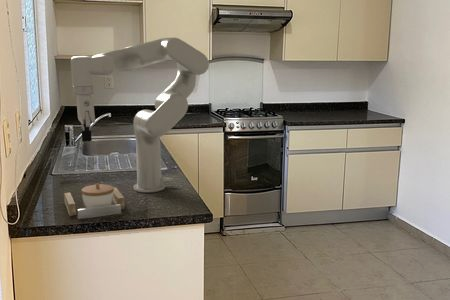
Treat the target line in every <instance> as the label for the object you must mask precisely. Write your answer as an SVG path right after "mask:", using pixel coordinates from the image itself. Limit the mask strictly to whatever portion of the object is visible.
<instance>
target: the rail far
mask: <svg viewBox="0 0 450 300" xmlns="http://www.w3.org/2000/svg"><path fill="white" fill-rule="evenodd" d="M63 195H64V205H65V208H66V210H67V212H68V215H69V216H71V217H72V216H76V215H77V212H76V210H77V209H76V203H75V201H74V198H73V196H72V194H71V192H64V193H63Z"/></svg>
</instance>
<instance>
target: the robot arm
mask: <svg viewBox="0 0 450 300" xmlns="http://www.w3.org/2000/svg"><path fill="white" fill-rule="evenodd" d="M166 61H174V62H175V63H176V67H177V68H176V69H177V73H176V77H175V79H174V80H173V81H172V82H171V83H170V85H168V86H167V87H166V88H165V89H164V90H163V91H161V93H159V94H158V95H157V96H156V99H155V101H154V108H155V110H151V109H142V110H139V111H138V112H137V113H135V116H134V117H133V132H134V136H135V150H136V151H135V156H136V158H135V161H136V183H135V184H133V188H132V189H133V190H134V191H135V192H137V193H138V192H139V193H156V192H157V193H158V192H161V191H163V190H165V189H166V183H167V184H168V183H174V178H173V177H168V176H167V177H163V176H162V158H161V156H162V155H161V139H160V138H161V137H163V136H165V135H166V134H167V133H168V132H169V131H171V130H172V129H173V127H175V126H176V124H178V122H179V121H181V120H182V119H183V117H184V116H186V113H187V112H188V108H189V102H188V100H187V99H188V97H190V95H191V94H192V93H193V91H194V90H195V87H196V85H197V84H196V82H197V76H200V75H204V74H205V73H206V72H207V71H208V70H209V67H210V61H209V59H208V57H207V55H206V54H205V53H203V52H201V51H200V50H198V49H196V48H195V47H194V46H192V45H190V44H189V43H187V42H186V41H184V40H182V39H180V38H179V37H163V38H159V39H154V40H151V41H147V42H146V41H145V42H143V43H137V44H134V45H130V46H127V47H124V48H118V49H115V50H111V51H107V52H103V53H99V54H95V55H93V56H88V55H77V56H72V57H71V59H70V72H71V85H72V96H74V97H76V110H77V119H78V121H79V122H80V123H81V124H80V125H81V126H80V127H81V142H82V143H83V142H84V143H85V142H92V138H93V137H92V130H91V124H92V123H93V124H94V123H96V115H95V105H94V98H93V96H94V95H95V94H96V93H95V81H94V80H95V79H94V76H97V77H109V76H112V75H113V74H115V72H116V71H119V70H120V71H121V70H126V69H138V68H139V69H140V68H144V67H148V66H151V65H154V64H158V63H159V64H160V63H162V62H166ZM95 96H96V95H95Z"/></svg>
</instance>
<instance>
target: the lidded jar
mask: <svg viewBox="0 0 450 300" xmlns="http://www.w3.org/2000/svg"><path fill="white" fill-rule="evenodd" d="M114 188H115V187H114V186H113V185H110V184H101V183H95V184H91V185H86V186H84V187H83V188H81V197H82V203H83V205H84V206H85V208H91V207H99V206H107V205H113V203H114V202H113V195H114V193H113V191H114Z"/></svg>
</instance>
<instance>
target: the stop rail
mask: <svg viewBox="0 0 450 300" xmlns="http://www.w3.org/2000/svg"><path fill="white" fill-rule="evenodd" d="M76 210H77V218H78V220H83V219H84V220H85V219H91V218H98V217H99V218H100V217H104V216H106V217H107V216H115V215H121V214H122V209H121V205H120V204H115V203H114V204H111V205H107V206H99V207H91V208H87V207H85V208H78V209H76Z"/></svg>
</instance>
